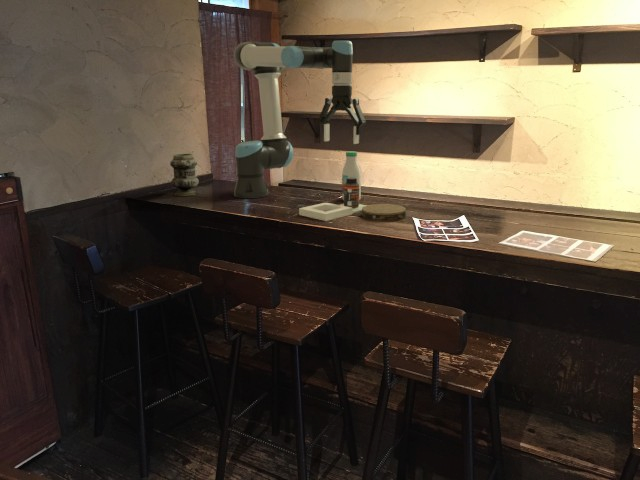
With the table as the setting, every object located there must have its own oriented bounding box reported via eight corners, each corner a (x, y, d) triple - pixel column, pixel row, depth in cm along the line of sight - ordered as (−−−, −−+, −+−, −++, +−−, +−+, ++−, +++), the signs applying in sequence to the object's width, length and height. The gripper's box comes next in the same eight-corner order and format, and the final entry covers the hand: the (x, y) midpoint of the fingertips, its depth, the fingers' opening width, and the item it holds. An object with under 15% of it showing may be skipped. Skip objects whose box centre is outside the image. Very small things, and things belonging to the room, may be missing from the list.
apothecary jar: (196, 196, 234) (192, 155, 229) (169, 196, 234) (165, 156, 229) (202, 191, 246) (199, 152, 241) (176, 191, 246) (173, 152, 241)
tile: (329, 208, 206) (329, 207, 206) (350, 203, 214) (350, 202, 214) (352, 213, 198) (352, 211, 198) (373, 208, 206) (373, 206, 206)
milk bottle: (360, 198, 225) (361, 150, 220) (360, 201, 218) (360, 153, 212) (342, 197, 226) (342, 150, 220) (341, 201, 218) (341, 153, 213)
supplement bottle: (352, 209, 202) (352, 179, 199) (340, 207, 206) (340, 178, 203) (362, 206, 206) (362, 177, 203) (350, 204, 210) (350, 176, 207)
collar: (299, 214, 197) (299, 208, 196) (326, 208, 206) (325, 202, 206) (325, 221, 187) (325, 214, 187) (352, 214, 197) (352, 207, 196)
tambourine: (371, 210, 204) (371, 202, 203) (411, 213, 197) (411, 205, 196) (355, 219, 190) (355, 211, 190) (397, 223, 184) (397, 215, 183)
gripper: (309, 84, 201) (309, 140, 208) (365, 85, 187) (363, 145, 194) (320, 84, 207) (320, 139, 213) (376, 85, 193) (374, 143, 199)
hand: (341, 142), depth 204 cm, fingers open, 13 cm apart
